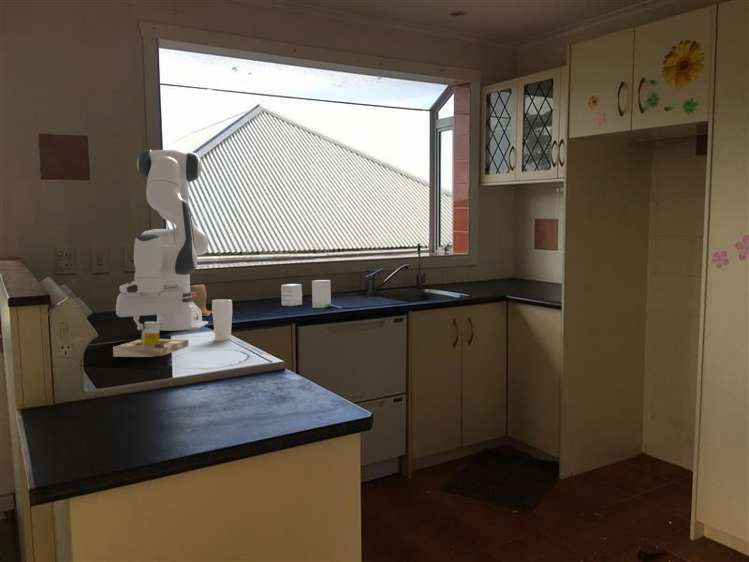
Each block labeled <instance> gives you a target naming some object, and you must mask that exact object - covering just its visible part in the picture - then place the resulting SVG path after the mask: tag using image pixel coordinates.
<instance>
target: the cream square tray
mask: <svg viewBox="0 0 749 562" xmlns="http://www.w3.org/2000/svg"><path fill="white" fill-rule="evenodd" d="M141 341H142V336H140V338H139V339H136V340H134V341H133V340H132V341H130V342H126V343H125V342H124V343H123V344H120V345H116V346H113V347H112V352H113V355H112V357H114V358H118V357H119V358H120V357H121V358H146V357H147V358H153V357H163V356H166V355H169V354H170V353H171V354H172V353H173V352H176V351H178V350H182V349H184V348H186V347H188V346H189V339H178V338H174V339H172V338H159V344H155V346H141Z"/></svg>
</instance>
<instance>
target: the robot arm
mask: <svg viewBox="0 0 749 562" xmlns="http://www.w3.org/2000/svg"><path fill="white" fill-rule="evenodd" d="M136 168H137V170H138V173H139V175H140V176H141V177H142V178H143V179H146V180H147V181H146V190H145V191H146V194H145V195H146V197H145V198H146V201H147V203H148V205H149V206H150V207H151V208H152V209H153V210H154V211H156V212H158V214H159V215H160V217H161V218H162V219H164V220H165V221H168V222H170V223H172V224H173V225H174V226H175V228H155V229H154V228H153V229H150V230H145V231H143V232H142V233H141V234H140V235H139V236H137V237H136V238H135V240H134V247H133V265H134V268H135V272H134V276H133V277H134V279H133V281H130V282H127V283H124V284H121V285H120V286H119V291H120V293H119V294H118V295H117V298H116V304H115V314H116V315H117V316H118V317H119V318H127V317H128V318H129V317H132V318H133V320H134V322H135V324H136V326H137V330H138V331H142V330H143V329H144V324H143V323H140V321H139V320H140V317H142V316H156V322H157V323H158V326H157V329H159V331H164V332H165V331H168V332H169V331H171V332H172V331H175V332H176V331H187V330H188V331H189V330H196V329H197V330H198V329H201V328H202V327H203V326H206V325H207V324H208V325H209V321H206V320H203V317H202V312H201V310H200V309H199V308H198V307H197V306H196V305H195V304H194V303H193V298H192V297H195V296H196V294H195V292H190V286H191V281H190V280H191V279H190V276H191V275H190V274H192V273H193V272H194V271H195V270H196V269H197V268H198V256H202V255H204V254H205V253H206V251H207V250H208V246H209V239H208V235H206V233H205V232H204V231H203V230H202V229H200V228H199V227H198V226H197V225H196V224H195V222H194V221H193V219H192V212H191V209H190V205H189V203H190V202H189V200H190V199H189V183H192V182H194V181H196V180H197V179H198V178H200V177H199V176H200V175H201V172H202V162H201V159H200V156H199V155H198V154H197V153H195V152H193V151H188V152H187V151H183V150H176V149H157V150H156V149H153V150H152V149H145V150H141V152H140V153H139V154H138V157H137V161H136Z"/></svg>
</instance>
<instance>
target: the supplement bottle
mask: <svg viewBox="0 0 749 562" xmlns="http://www.w3.org/2000/svg"><path fill="white" fill-rule="evenodd" d="M157 326H158V323H157V321H144V324H143V330H141V337H142V341H141V346H155V344H159V339H160V330H159V329H157Z"/></svg>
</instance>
